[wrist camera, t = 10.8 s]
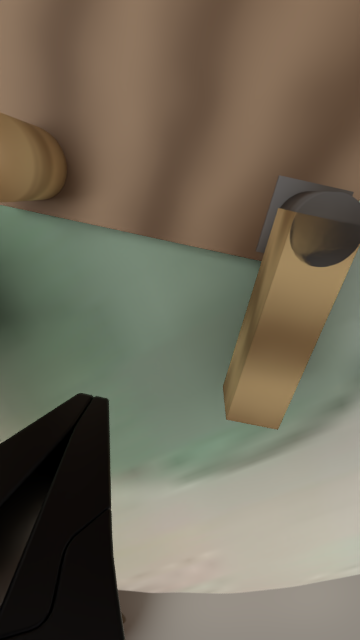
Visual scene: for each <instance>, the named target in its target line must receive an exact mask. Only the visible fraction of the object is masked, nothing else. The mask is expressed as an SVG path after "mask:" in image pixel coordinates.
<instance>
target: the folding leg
mask: <svg viewBox="0 0 360 640" xmlns="http://www.w3.org/2000/svg"><path fill="white" fill-rule="evenodd" d="M359 246H360V203H359V201H358V200H357V199H356V198H354V197H353V196H351V195H349V194H346V193H343V192H323V191H306V192H301V193H298V194H296V195H294V196H292V197H290V198H289V199H288V200H286V201H285V202H284V203H283V205H282V206H281V207H280V208H278V210H277V213H276V217H275V220H274V223H273V226H272V230H271V233H270V236H269V239H268V243H267V246H266V249H265V252H264V255H263V259H262V262H261V265H260V268H259V272H258V275H257V278H256V281H255V285H254V288H253V291H252V294H251V298H250V301H249V304H248V307H247V310H246V314H245V317H244V320H243V323H242V327H241V330H240V333H239V336H238V340H237V343H236V346H235V349H234V353H233V356H232V359H231V362H230V365H229V369H228V372H227V375H226V378H225V382H224V385H223V392H224V402H225V411H226V420H232V421H237V422H242V423H247V424H252V425H257V426H262V427H267V428H272V429H277V430H278V428H279V426H280V424H281V422H282V419H283V417H284V415H285V413H286V410H287V408H288V406H289V404H290V401H291V399H292V397H293V395H294V392H295V390H296V388H297V385H298V383H299V381H300V379H301V376H302V374H303V372H304V370H305V367H306V365H307V363H308V361H309V358H310V356H311V354H312V352H313V349H314V347H315V345H316V343H317V340H318V338H319V336H320V334H321V331H322V329H323V327H324V325H325V322H326V320H327V318H328V316H329V313H330V311H331V309H332V307H333V304H334V302H335V300H336V298H337V295H338V293H339V291H340V289H341V286H342V284H343V282H344V280H345V277H346V275H347V273H348V270H349V268H350V266H351V264H352V261H353V259H354V257H355V255H356V252H357V250H358V248H359Z"/></svg>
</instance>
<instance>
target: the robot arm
mask: <svg viewBox="0 0 360 640" xmlns="http://www.w3.org/2000/svg"><path fill="white" fill-rule="evenodd" d="M0 640H125V636H124V629H123V622H122V616H121V609H120V602H119V596H118V589H117V581H116V573H115V565H114V557H113V541H112V514H111V476H110V431H109V400H108V399H107V398H103V397H98V396H95V397H93V396H92V395H89V394H84V393H79V394H77V395H75V396H74V397H72V398H70V399H69V400H67V401H66V402H64V403H63V404H61V405H60V406H58V407H57V408H55V409H54V410H52V411H50V412H49V413H47V414H46V415H44V416H43V417H41V418H40V419H38V420H37V421H35V422H33V423H32V424H30V425H29V426H27V427H26V428H24V429H23V430H21V431H20V432H18V433H16V434H15V435H13V436H12V437H10V438H9V439H7V440H6V441H4V442H3V443H1V444H0Z"/></svg>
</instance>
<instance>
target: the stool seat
mask: <svg viewBox="0 0 360 640" xmlns="http://www.w3.org/2000/svg"><path fill="white" fill-rule="evenodd" d="M306 191H323V192H343V193H346V194H349V195H351V196H353V197H354V198H356V199H357V200H358V201H359V200H360V0H0V205H4V206H9V207H14V208H18V209H23V210H28V211H32V212H37V213H41V214H46V215H51V216H55V217H60V218H64V219H69V220H74V221H78V222H83V223H88V224H92V225H97V226H101V227H106V228H111V229H115V230H120V231H125V232H129V233H134V234H138V235H143V236H148V237H152V238H157V239H162V240H166V241H171V242H175V243H180V244H185V245H189V246H194V247H199V248H203V249H208V250H212V251H217V252H222V253H226V254H231V255H235V256H240V257H245V258H249V259H254V260H259V261H262V259H263V255H264V252H265V249H266V246H267V243H268V239H269V236H270V233H271V230H272V226H273V223H274V220H275V217H276V213H277V210H278V208H280V207H281V206H282V205H283V203H284V202H285V201H286V200H288V199H289V198H290V197H292V196H294V195H296V194H298V193H301V192H306Z"/></svg>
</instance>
